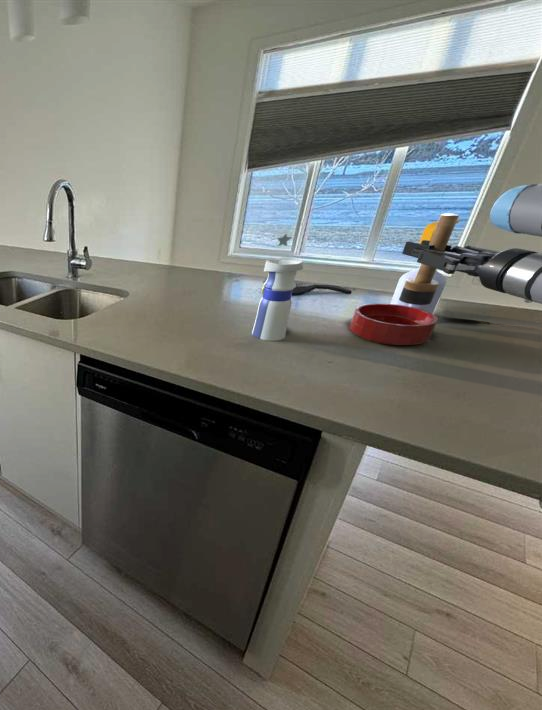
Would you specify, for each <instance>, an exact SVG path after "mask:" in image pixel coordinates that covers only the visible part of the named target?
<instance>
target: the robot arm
mask: <svg viewBox="0 0 542 710" xmlns="http://www.w3.org/2000/svg"><path fill="white" fill-rule="evenodd" d="M489 218H490V223H492V225H493V226H495V227H496V228H498V229H500V230H504V231H507V232H511V233H513V234H522V235H529V236H534V237H541V238H542V182H541V183H539V184H537V183H536V184H535V183H532V184H531V183H530V184H523V185H518V186H516V187H512V188H511V189H508V190H507V191H505V192H504V193H503V194H502V195H500V196H499V198H498V199H497V200H496V201H495V202H494V203H493V206H492V207H491V210H490V214H489ZM429 243H430V241H427V240H422V242H421V244H419V242H414V241H406V242H405V244H404V246H403V250H402V253H401V255H404V256H408V257H413V258H416V259H417V260H416V263H418V264H424V265H427V266H430V267H433V268H436V270H439V271H442V272H443V273H445V274H447V275H454V274H455V273H456V272H459V273H462V274H463V273H464V274H467V276H471V277H477V278H479V281H480V284H481V285H482V287H484V288H485V289H488V290H491V291H495V292H499V293H501V294H508V295H510V296H513V297H517V298H521V299H524V301H523V302H524V303H527V304H530V303H533V302H534V303H537V304H540V305H542V252H538V251H534V250H529V249H524V248H518V247H517V248H516V247H515V248H514V247H513V248H508V249H504V250H502V251H497V250H493V249H492V250H491V249H489V248H482V247H477V246H471V245H465V246H464V247H463V246H459V245H455V246H452V245H450V244H447V246H446V248H445V250H444V251H442V250H437V249H434V248H435V247H434V246H435V245H429Z"/></svg>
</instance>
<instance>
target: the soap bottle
mask: <svg viewBox="0 0 542 710" xmlns="http://www.w3.org/2000/svg"><path fill="white" fill-rule="evenodd" d="M438 221H439V220H437V221H434V222H431V223H429V224H427V225H426V226H425V227H424V229H423V232H422V234H421V236H420V239H419V242H418V243H419V244H421V242H422V240H427V241H431V238H432V236H433V233H434V231H435V228H436V226H437V223H438ZM459 222H460V220H459V219H458V220H457V222H456V224H459ZM420 266H421V263H419V267H417V268H416V269H413V270H410V271H408V272H406V273H403V274H402V276H401V277H400V278H399V280H398V281H397V285H396V286H395V287H396V288H395V290H394V292H393V295H392V298H391V301H390V303H389V304H397V305H404V306H410V307H414V308H418V309H422V310H425V311H427V312H430V313H432V314H433V315H434V311H435V309H436V307H437V305H438V303H439V300H440V298H441V296H442V294H443V291H444V289H445V287H446V284H447V278H446V277H445V275H444V274H442V273H441V272H439V271H438V269H436V272H435V274H434V276H433V279H432V280H436V281H438V282H439V286H438V288H437V290H436V293H435V295H434V297H433V299H432V302H431V303H430V304H428V305H414V304H408V303H404V302H402V301H400V300H399V298H400V295H401V293H402V290H403V287H404V285H405V282H406V280H407V279H409V278H416V276H417V273H418V271H419V268H420Z"/></svg>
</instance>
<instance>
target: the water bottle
mask: <svg viewBox="0 0 542 710" xmlns="http://www.w3.org/2000/svg"><path fill="white" fill-rule="evenodd" d="M292 238H293V237H292V236H288V235H287V232H285V233H284V234H283V236H281V237H276V240H278V242H279V243H278V244H277V247H280V246H285V247H288V241H289V240H291V239H292ZM303 269H304V264H303V260H302V259H299V258H295V257H291V256H289V257H288V256H282V257H279V259H278V263H274V262H271V261H270V260H269V259H266V261H265V264H264V268H263V273H266V272H268V275H267V277H266V278H267V279H266V282H265V283H264V284H263V283H262V284H263V286H262V288H261V294H262V297H261V298H260V300H259V303H258V307H257V312H256V315H255V321H254V324H253V328H252V331H251V335H252V336H253V337H254V338H257V339H259V340H262V341H271V342H276V341H277V342H278V341H281V340H284V339H285V338H286V335H287V327H288V323H289V319H290V318H289V317H290V313H291V309H292V292H293V289H294V288H295V287H296V281H295V279H296V275H297V273H298V272H299V271H301V270H303Z"/></svg>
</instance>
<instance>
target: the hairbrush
mask: <svg viewBox="0 0 542 710" xmlns="http://www.w3.org/2000/svg"><path fill="white" fill-rule="evenodd" d="M267 278H268V277H266V278H265V280H263V282H262V284H264V283H265V282H266V280H267ZM295 285H296V287H295V288H294V289H293V292H292V296H300V295H304V294H306V293H309V292H312V291H313V290H330V291H333V292H338V293H342V294H347V295H351V294H352V292H353V291H352V290H351V289H348V288H345V287H343V286H339V285H333V284H310V283H309V284H308V283H306V284H304V285H303V283H299V284H298V283H295ZM292 296H291V297H292Z"/></svg>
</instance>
